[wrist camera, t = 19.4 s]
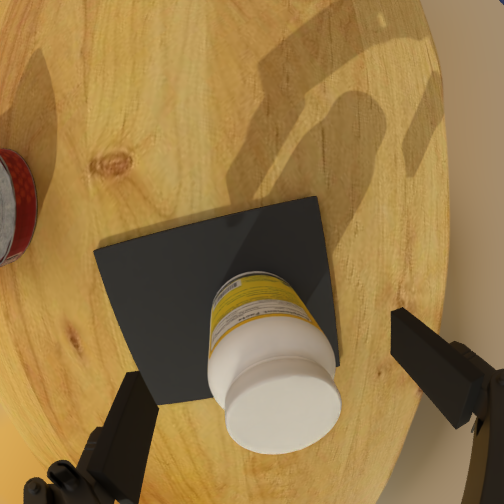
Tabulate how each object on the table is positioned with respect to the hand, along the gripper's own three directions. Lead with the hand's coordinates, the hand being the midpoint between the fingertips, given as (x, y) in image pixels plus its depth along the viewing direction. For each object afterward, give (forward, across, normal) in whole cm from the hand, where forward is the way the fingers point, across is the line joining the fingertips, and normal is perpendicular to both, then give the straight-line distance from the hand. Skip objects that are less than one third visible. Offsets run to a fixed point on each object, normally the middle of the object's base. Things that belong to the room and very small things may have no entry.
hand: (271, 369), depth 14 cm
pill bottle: (+8, 0, 0) cm, 8 cm away
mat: (+8, -2, 0) cm, 8 cm away
